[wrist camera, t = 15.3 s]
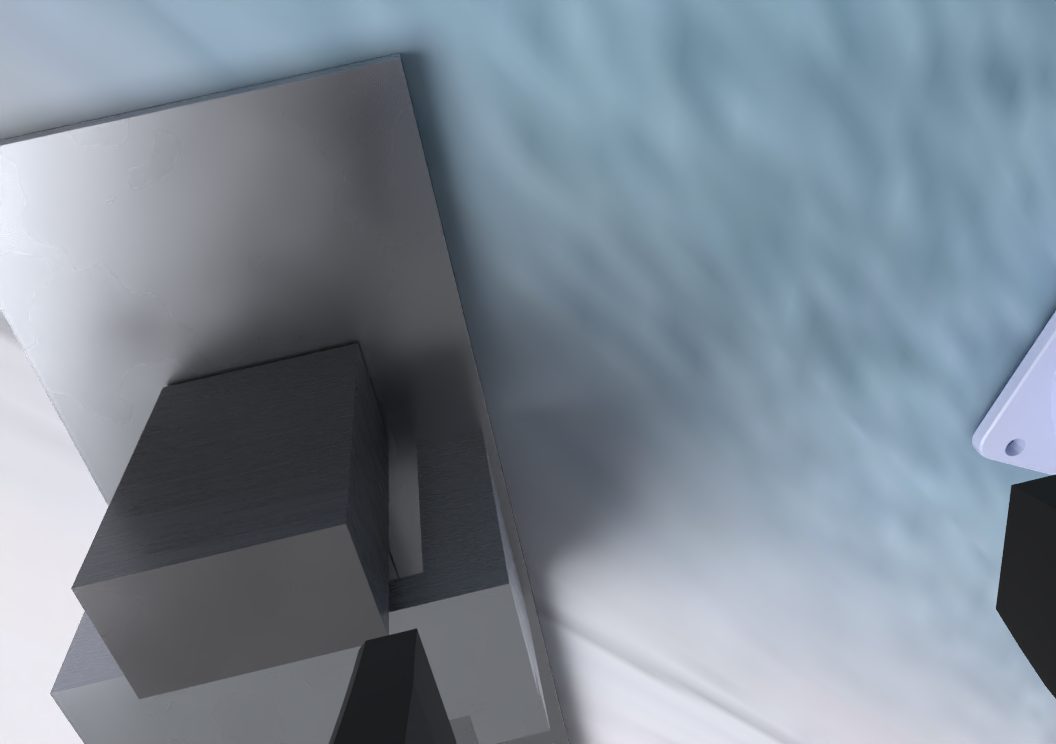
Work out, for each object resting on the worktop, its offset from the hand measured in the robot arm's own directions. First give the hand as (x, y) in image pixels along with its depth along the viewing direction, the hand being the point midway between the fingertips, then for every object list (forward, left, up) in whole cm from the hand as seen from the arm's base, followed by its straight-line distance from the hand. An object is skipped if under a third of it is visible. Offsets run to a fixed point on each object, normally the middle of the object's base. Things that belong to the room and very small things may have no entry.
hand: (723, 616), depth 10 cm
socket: (+3, +8, -9) cm, 13 cm away
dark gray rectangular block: (+4, +7, -9) cm, 12 cm away
